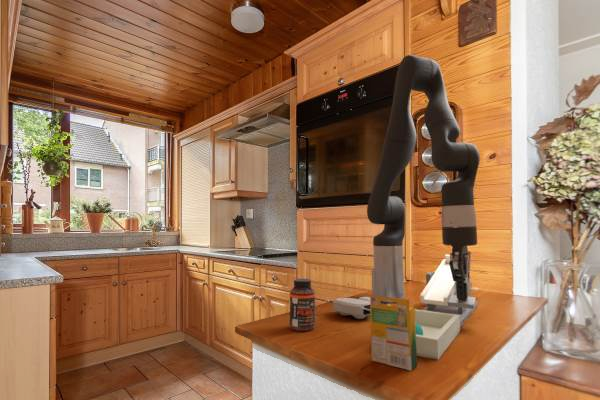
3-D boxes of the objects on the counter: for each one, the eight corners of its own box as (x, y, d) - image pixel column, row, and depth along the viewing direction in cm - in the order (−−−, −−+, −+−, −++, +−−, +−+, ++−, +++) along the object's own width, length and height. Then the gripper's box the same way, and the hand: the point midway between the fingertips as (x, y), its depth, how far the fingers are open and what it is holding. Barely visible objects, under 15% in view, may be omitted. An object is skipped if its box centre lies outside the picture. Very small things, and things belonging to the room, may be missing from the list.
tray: (374, 346, 68) (374, 328, 69) (407, 322, 85) (406, 308, 85) (438, 359, 61) (437, 339, 62) (460, 330, 78) (459, 315, 78)
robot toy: (359, 309, 103) (324, 314, 93) (359, 293, 103) (325, 297, 93) (395, 317, 94) (361, 324, 84) (395, 300, 94) (361, 304, 84)
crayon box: (417, 365, 59) (415, 296, 60) (411, 371, 57) (409, 299, 58) (378, 356, 64) (376, 292, 64) (371, 361, 61) (369, 294, 62)
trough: (421, 310, 85) (419, 289, 84) (444, 271, 106) (443, 254, 105) (474, 317, 78) (472, 294, 78) (487, 274, 99) (486, 256, 99)
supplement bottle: (297, 333, 77) (296, 282, 78) (285, 327, 82) (285, 279, 83) (320, 329, 80) (319, 280, 81) (307, 323, 85) (307, 277, 86)
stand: (410, 322, 85) (409, 279, 86) (437, 301, 107) (436, 267, 108) (458, 329, 79) (456, 282, 79) (477, 305, 101) (475, 269, 101)
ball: (406, 323, 73) (404, 342, 71) (400, 318, 70) (398, 338, 68) (426, 326, 70) (424, 346, 69) (421, 321, 68) (419, 342, 66)
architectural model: (457, 296, 117) (456, 273, 117) (479, 299, 111) (478, 276, 112) (453, 297, 114) (452, 274, 115) (474, 301, 109) (473, 277, 110)
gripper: (448, 225, 90) (451, 292, 89) (435, 225, 79) (438, 302, 78) (480, 224, 86) (484, 295, 85) (471, 225, 75) (475, 306, 74)
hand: (462, 298), depth 81 cm, fingers closed
